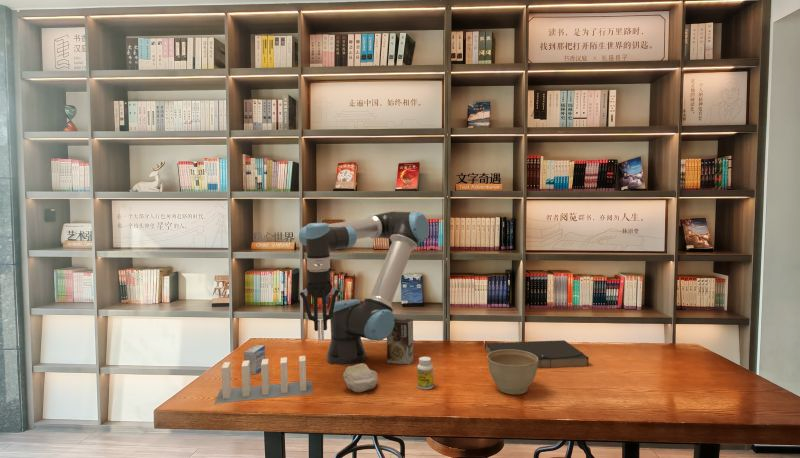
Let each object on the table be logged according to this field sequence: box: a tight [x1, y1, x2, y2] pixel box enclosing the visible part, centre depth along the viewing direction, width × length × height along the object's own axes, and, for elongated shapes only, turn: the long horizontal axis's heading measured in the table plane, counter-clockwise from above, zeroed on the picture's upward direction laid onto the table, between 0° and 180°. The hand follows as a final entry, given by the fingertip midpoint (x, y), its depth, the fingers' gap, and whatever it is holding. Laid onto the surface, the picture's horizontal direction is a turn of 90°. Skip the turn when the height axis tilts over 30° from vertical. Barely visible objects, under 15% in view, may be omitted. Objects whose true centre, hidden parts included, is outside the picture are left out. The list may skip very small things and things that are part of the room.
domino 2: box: [241, 360, 252, 397], centre depth 154 cm, size 2×5×10 cm, turn 12°
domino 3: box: [260, 358, 270, 395], centre depth 155 cm, size 2×5×10 cm, turn 12°
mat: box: [214, 380, 314, 405], centre depth 155 cm, size 30×11×1 cm, turn 102°
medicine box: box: [243, 344, 267, 375], centre depth 174 cm, size 8×4×9 cm, turn 168°
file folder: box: [484, 339, 590, 369], centre depth 185 cm, size 33×4×24 cm
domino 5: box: [298, 355, 307, 391], centre depth 157 cm, size 2×5×10 cm, turn 12°
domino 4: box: [280, 356, 289, 393], centre depth 156 cm, size 2×5×10 cm, turn 12°
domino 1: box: [221, 361, 233, 399], centre depth 152 cm, size 2×5×10 cm, turn 12°
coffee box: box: [386, 317, 415, 365], centre depth 183 cm, size 9×6×16 cm
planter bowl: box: [486, 349, 538, 395], centre depth 155 cm, size 16×16×11 cm
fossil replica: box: [342, 362, 379, 393], centre depth 157 cm, size 12×8×10 cm
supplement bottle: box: [416, 356, 435, 390], centre depth 158 cm, size 5×5×10 cm
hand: (321, 339), depth 158 cm, fingers closed
